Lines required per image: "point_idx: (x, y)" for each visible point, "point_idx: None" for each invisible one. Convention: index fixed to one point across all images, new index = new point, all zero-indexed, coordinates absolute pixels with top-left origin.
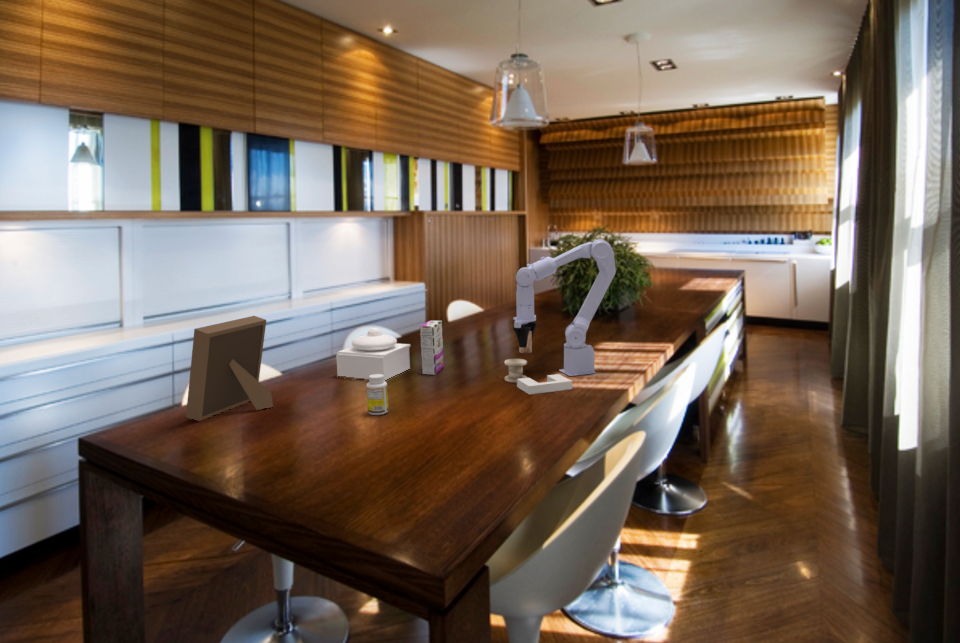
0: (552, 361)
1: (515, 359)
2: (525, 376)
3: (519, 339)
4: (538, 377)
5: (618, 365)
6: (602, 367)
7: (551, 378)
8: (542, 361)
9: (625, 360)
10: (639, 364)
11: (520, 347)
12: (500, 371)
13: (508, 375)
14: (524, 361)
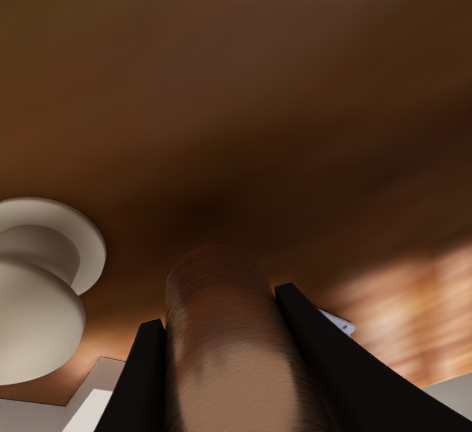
0: (439, 188)
1: (29, 304)
2: (89, 280)
3: (123, 412)
4: (156, 293)
5: (409, 356)
6: (379, 345)
7: (76, 410)
8: (434, 149)
9: (467, 340)
10: (427, 376)
11: (169, 305)
12: (129, 59)
13: (31, 207)
14: (35, 367)
